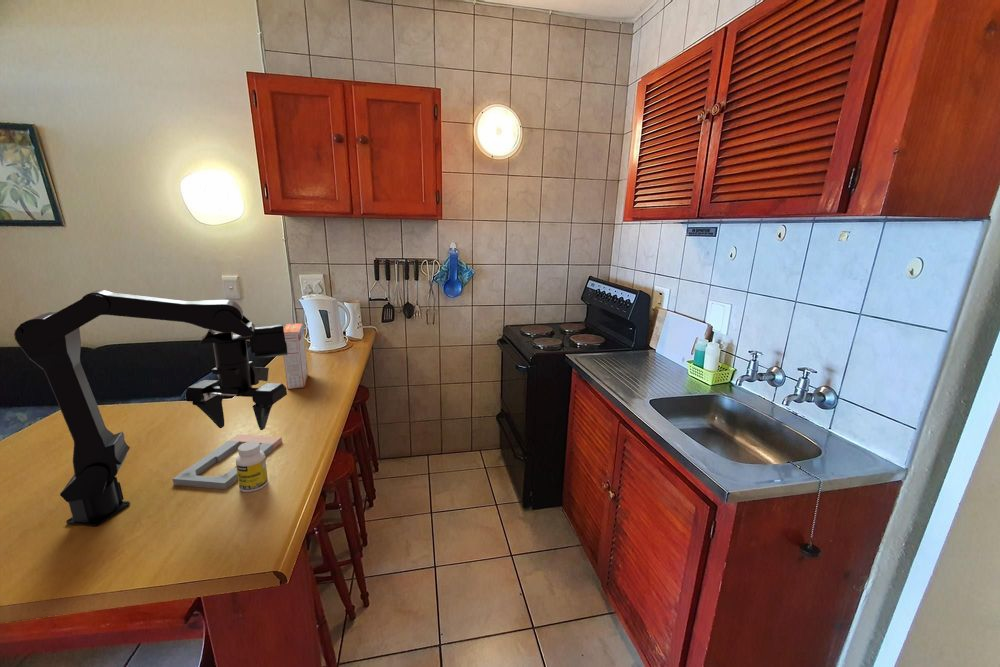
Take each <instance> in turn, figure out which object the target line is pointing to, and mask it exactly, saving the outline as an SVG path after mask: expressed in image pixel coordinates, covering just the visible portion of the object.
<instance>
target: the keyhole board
mask: <svg viewBox="0 0 1000 667" xmlns="http://www.w3.org/2000/svg"><path fill="white" fill-rule="evenodd" d="M250 441H256V442H259V443H260V450H261V451H263V452H264V454H265V457H266V456H267V455H268V454H270V453H271V452H272V451H273V450H275V449H276V448H277V447H278V446H280V444H282V443H283V438H282V436H271V435H258V434H257V435H256V434H246V433H244V434H242V433H238V434H236V435H235V436H233V437H232V438H230V439H229V440H227V441H226V442H225V443H223V444H221V445H220V446H219V447H217V448H216V449H214V450H212V451H211V452H210V453H208V454H207V455H205V456H204V457H202V458H200V460H198V461H197V462H195V463H193V464H192V465H190V466H189V467H188V468H186V469H185V470H183V471H182V472H180V473H179V474H178V475H176V476H174V477H173V478H172V483H173V486H183V487H184V486H185V487H197V488H207V489H208V488H209V489H217V490H218V489H220V490H221V489H222V490H226V489H228V488H229V487H230V486H232V485H233V484H234V483H235V482H236V481H238V475H237V468H236V465H235V466H234V467H233V468H231V469H230V470H229V471H227V472H226V473H223V474H219V475H215V476H210V475H209V476H208V475H207V476H206V475H200V474H202V473H203V472H204V471H206V470H207V469H209V468H210V467H212V465H214V464H215V463H220V462H221V461H222V460H224V459H225V458H226V457H228V456H229V455H231V454H232V453H233V452H235V451H236V450H238V447H239V446H240V445H241V444H243V443H246V442H250ZM201 472H202V473H201Z"/></svg>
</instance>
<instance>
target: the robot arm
mask: <svg viewBox="0 0 1000 667" xmlns="http://www.w3.org/2000/svg"><path fill="white" fill-rule="evenodd" d="M100 316H115V317H124V318H125V317H126V318H136V319H148V320H155V321H157V320H158V321H159V320H160V321H168V322H169V321H170V322H178V323H181V322H182V323H187V324H190V325H194V326H196V327H199V328H203V329H206V330H208V331H207V333H206V334H205V335H204V336H202V337H201V339H200V341H199V343H200V344H202V345H205V344H212V346H213V353H214V359H215V366H216V367H214V368H212V369H211V372H212V375H217V378H218V380H215V379H213V380H211V379H203V380H201V381H198V382H196V383H194V384H192V385H190V386H188V387H187V388H186V389H185V392H184V396H185V402H190V403H191V404H192V405H193V406H196V407H197V408H199V410H200V411H202V412H203V413H204V414H205V415H206V416H207V417H208V418H209V419H210V420H211V421H212V423H214V424H215V425H216V427H218V428H219V429H222V428H224V427H225V414H224V408H223V400H224V397H226V396H227V397H245V398H246V397H248V398H249V397H250V398H252V402H253V403H254V404H253V405H252V410H253V412H254V416H255V418H256V423H257V426H258V428H259V430H260V431H263V430H265V429H266V426H267V423H268V420H269V416H270V412H271V410H272V408H273V405H274V404H276V403H277V402H279V401H280V400H281V399H283V398H285V397H286V396H287V395H288V393H287V392H288V391H287V390H288V389H287V386H286V385H285V384H283V383H279V382H268V380H269V370H270V368H269V367H261V366H255V362H254V361H249V360H250V359H249V353H248V346H247V345H248V344H247V341H249V344H250V345H249V346H250V353H251V355H254V356H255V357H257V358H258V359H263V358H271V357H273V358H274V357H281V356H283V355H287V344H286V339H285V336H284V325H283V324H274V325H269V326H267V325H266V326H256V325H255V324H254V323H253V322H252V321H251V320H249V319H248V318H247V317H246V316H245V315H244V313H243V309H242V307H241V306H240V305H239V304H238V303H237V302H236V301H234V300H231V299H206V300H205V299H203V300H193V301H192V300H182V299H181V300H179V299H170V298H163V297H162V298H161V297H155V296H146V295H145V296H144V295H136V294H128V293H119V292H112V291H108V290H106V289H105V290H103V289H98V290H94V291H91V292H88V293H86V294H85V295H84V296H82V298H81V299H79V300H77V301H75V302H73V303H72V304H70V305H67V306H66V307H65V308H64V307H63V309H60V310H58V311H56V312H55V311H54V312H46V313H41V314H39V315H38V316H37V315H36V316H35V317H32V318H30V319H28V320H26V321H24V322H22V323H20V325H18V327H17V328H16V329H14V333H13V335H14V340H15V341H16V343H17V344H18V346H19V347H20V349H21V350H22V351H23V353H24V354H25V356H26V357H27V358H28V359H29V360H30V361H31V362H33V363H34V364H35V365H37V366H38V367H39V368H40V369H41V370H42V371H43V372H44V374H45V376H46V379H47V381H48V384H49V386H50V388H51V390H52V393H53V395H54V397H55V400H56V402H57V404H58V407H59V410H60V412H61V414H62V416H63V419H64V421H65V424H66V426H67V428H68V431H69V433H70V436H71V438H72V441H73V451H72V452H73V455H72V466H73V473H74V474H73V476H72V477H71V478H70V479H69V481H68V482H67V484H66V485H65V486H64V487H63V489H62V490H61V492H60V493H59V496H60V497H61V498H62V499H63V500H64V501H66V503H68V506H69V508H70V513H71V517H70V518H68V519H66V521H65V522H66V525H76V526H77V525H78V526H87V527H88V526H90V527H97V526H100V525H102V524H103V523H104V522H106V521H108V520H109V519H111V518H112V517H113V516H115V515H116V514H118V513H120V512H121V511H123V510H124V509H125V508H127V507H128V506H130V505H131V502H130V501H126V500H125V501H124V495H123V489H122V485H121V482H120V481H118V477H117V474H119V471H120V469H121V467H122V465H124V463H125V460H126V458H127V455H128V453H129V451H130V449H131V447H130V446H129V445H128V444H127V443H126V440H125V433H124V431H120V432H117V433H113V432H111V431H110V429H108V428H107V426H106V424H105V421H104V419H103V417H102V414H101V412H100V409H99V406H98V404H97V401H96V398H95V395H94V394H93V391H92V388H91V386H90V383H89V381H88V377H87V375H86V373H85V370H84V368H83V365H82V363H81V348H82V347H81V346H82V339H81V331H80V330H81V329H80V328H81V327H82V326H84V325H86V324H88V323H89V322H91V321H93V320H94V319H96V318H98V317H100ZM255 326H256V327H255ZM233 333H234V334H233ZM260 381H262V382H267V383H265V384H263V385H262V386H259V387H253V386H256V385H258V384H259V383H260Z"/></svg>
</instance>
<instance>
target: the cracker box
mask: <svg viewBox="0 0 1000 667" xmlns="http://www.w3.org/2000/svg"><path fill="white" fill-rule="evenodd" d="M283 329H284V336H285V339H286V344H287V355H282V356H283V363H284V364H283V366H284V371H285V379H286V390H293V389H301V388H303V389H304V388H305V387H306V383H307V380H308V376H309V370H308V359H307V350H306V340H305V332H304V323H300V322H299V323H287V324H286V325H285V326H284V327H283Z"/></svg>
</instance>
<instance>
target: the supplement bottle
mask: <svg viewBox="0 0 1000 667" xmlns="http://www.w3.org/2000/svg"><path fill="white" fill-rule="evenodd" d="M237 451H238V452H237V453H238V455H237V457H236V458H235V466H236V468H237V475H238V479H237V481H238V488H239V490H240V491H241V492H244V493H252V492H256V491H259V490H260V489H263V488H264V487H265V486H266V485H267V484H268V481H269V480H268V471H267V463H266V456H265V454H264V452H263V451H261V450H260V443H259V442H256V441H250V442H246V443H243V444H241V445H240V446H239V447H238V448H237Z"/></svg>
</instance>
